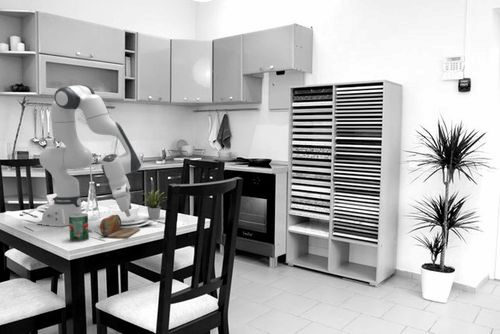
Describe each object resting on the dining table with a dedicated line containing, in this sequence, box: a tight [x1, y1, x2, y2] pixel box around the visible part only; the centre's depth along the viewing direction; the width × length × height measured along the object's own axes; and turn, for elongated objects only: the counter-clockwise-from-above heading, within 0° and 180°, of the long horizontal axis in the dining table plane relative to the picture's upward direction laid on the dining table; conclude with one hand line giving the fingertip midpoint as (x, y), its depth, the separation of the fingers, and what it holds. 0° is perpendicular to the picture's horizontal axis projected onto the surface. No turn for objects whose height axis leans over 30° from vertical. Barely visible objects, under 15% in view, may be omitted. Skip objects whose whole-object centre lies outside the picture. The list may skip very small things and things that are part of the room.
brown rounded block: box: [99, 214, 122, 237], centre depth 203 cm, size 15×3×8 cm, turn 168°
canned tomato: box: [68, 213, 90, 243], centre depth 193 cm, size 8×8×11 cm
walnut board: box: [107, 227, 141, 240], centre depth 203 cm, size 9×15×1 cm, turn 172°
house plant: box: [141, 188, 168, 220], centre depth 235 cm, size 14×14×16 cm
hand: (129, 212), depth 216 cm, fingers open, 8 cm apart
